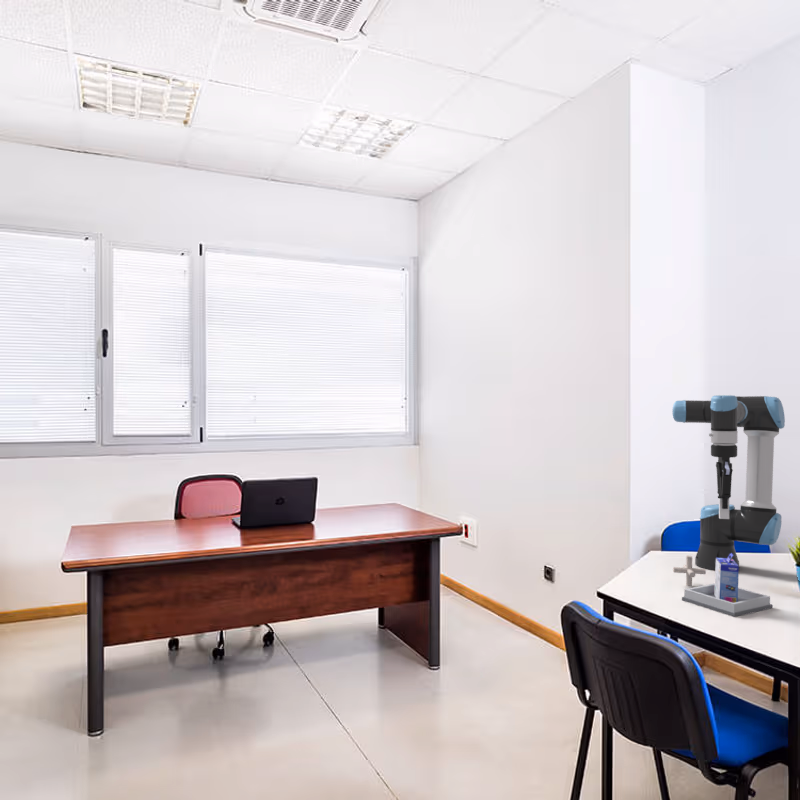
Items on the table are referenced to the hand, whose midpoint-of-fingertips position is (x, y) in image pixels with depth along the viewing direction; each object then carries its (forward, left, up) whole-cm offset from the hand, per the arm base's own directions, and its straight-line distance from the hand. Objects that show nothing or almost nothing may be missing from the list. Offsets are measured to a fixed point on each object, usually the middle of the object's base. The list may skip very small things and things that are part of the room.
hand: (724, 518), depth 210 cm
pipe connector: (-3, -15, -26) cm, 30 cm away
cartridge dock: (+4, +4, -26) cm, 26 cm away
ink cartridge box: (+4, +4, -25) cm, 25 cm away
